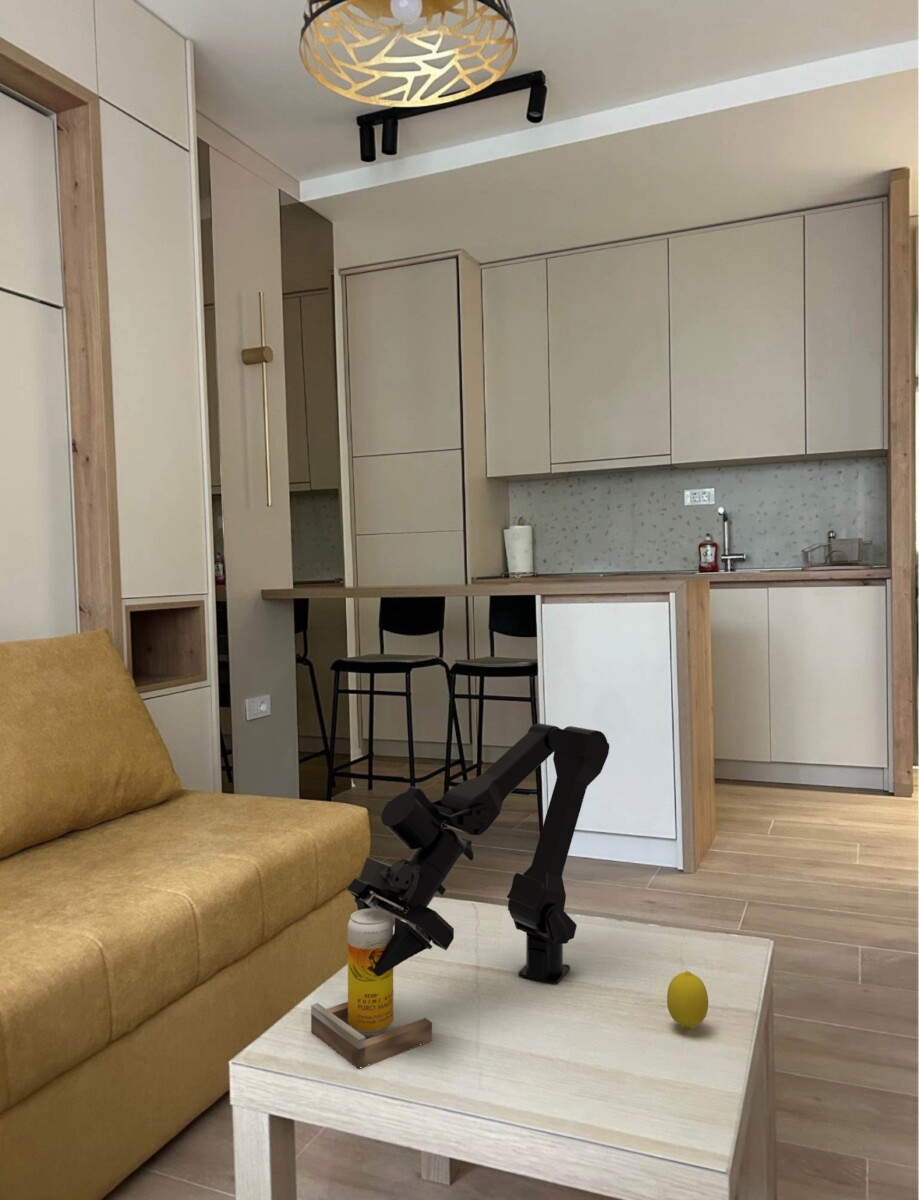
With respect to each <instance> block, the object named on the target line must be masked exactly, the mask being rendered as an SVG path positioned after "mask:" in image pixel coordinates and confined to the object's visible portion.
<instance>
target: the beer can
mask: <svg viewBox="0 0 919 1200" xmlns="http://www.w3.org/2000/svg"><path fill="white" fill-rule="evenodd" d="M393 935H394V921H393V920H392V917H391V914H390V913H389V912H388V911H386V910H382V909H375V908H369V909H362V910H358V909H357V910H356V911H354V912H352V913H351V914H350V918H349V920H348V922H347V954H348V957H347V1002H348V1023H349V1026H350V1027H352V1028H353V1029H354V1030H356V1031H357V1032H359V1033H360V1034H361V1035H363V1036H376V1035H380V1034H383V1033H385V1032H387V1030H388V1029H389V1028H390V1026H391V1024H392V1023H393V1022H394V967H393V968H392V969H390V970H389V971H387V972H386V973H384V974H382V975H381V976H377V975H375V974H374V973H373V970H374V968H375V966H376V964H377V962H378V960H379V959H380V957H381V955H382V953H383V952H384V950H385V948H386V947H387V945H388V943H389V942H390V940H391V938H392V936H393Z"/></svg>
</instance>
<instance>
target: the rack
mask: <svg viewBox="0 0 919 1200" xmlns="http://www.w3.org/2000/svg"><path fill="white" fill-rule="evenodd" d="M310 1006H311V1007H310V1008H311V1009H310V1022H311V1023H310V1032H311V1033H312V1034H313V1035H314V1036H316V1037H317V1039H320V1040H321V1041H322V1042H323V1043H325V1044H326V1045H327V1046H329V1047H330V1048H331V1049H332V1050H333V1051H335V1052H336V1053H337V1054H339V1055H340V1056H341V1057H343V1058H344V1059H345V1060H346V1059H347V1062H349V1061H350V1062H351V1063H353V1064H354V1065H355V1066H356V1068H357V1067H358V1068H360V1067H363V1068H365V1067H367V1066H366V1065H368V1064H371V1065H373V1064H375V1062H376V1063H379V1062H380V1060H381V1061H383V1060H386V1059H389V1058H391V1057H393V1056H396V1055H398V1053H399V1054H401V1053H405V1052H406V1050H407V1051H410V1050H411V1049H410V1048H412V1049H414V1048H416V1047H415V1046H417V1047H419V1046H421V1045H420V1044H422V1045H424V1044H423V1043H425V1044H427V1043H429V1041H430V1042H431V1041H433V1022H432V1021H431V1020H429V1019H428V1018H426V1017H424V1018H422V1019H421V1018H420V1019H418V1020H416V1021H414V1022H413V1021H412V1022H411V1023H407V1024H405V1025H402V1026H400V1027H397V1028H394V1029H391V1030H389V1031H384V1032H382V1033H380V1034H376V1035H373V1036H372V1037H370V1038H366V1036H365V1035H362V1034H360V1033H359V1032H357V1031H356V1030H354V1029H353V1028H352V1027H351V1026H350V1025H349V1023H348V1001H347V1002H343V1003H340V1004H337V1005H334V1006H331V1007H328V1008H326V1007H324V1006H323V1005H321V1004H320V1003H319V1002H317V1003H314V1004H311V1005H310ZM418 1045H419V1046H418ZM413 1047H414V1048H413ZM388 1057H389V1058H388ZM350 1062H349V1063H350ZM351 1063H350V1064H351ZM372 1063H373V1064H372ZM353 1064H352V1065H353ZM354 1065H353V1066H354ZM355 1066H354V1067H355ZM364 1066H365V1067H364ZM368 1066H369V1065H368ZM358 1068H357V1069H358ZM360 1069H361V1068H360Z"/></svg>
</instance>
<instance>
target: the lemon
mask: <svg viewBox="0 0 919 1200" xmlns="http://www.w3.org/2000/svg"><path fill="white" fill-rule="evenodd" d="M706 988H707V987H706V985H705V982H703V980H701V978H700V977H699V976H698V975H696V974H694V973H691V971H689V970H686V971H684V972H681V973H678V974H677V975H675V976H673V978H672V979H671V981H670V983H669V985H668V987H667V993H666V1006H667V1010H668V1012H669V1014H670V1015H669V1016H670V1017H671V1018H672V1020H673V1021H675V1023H676V1024H678V1025H680V1026H682V1027H683V1029H685V1030H686V1031H689V1030H691V1029H692V1028H693V1027H697V1026H699V1025H700V1024H702V1022H703V1021H704V1020H705V1019H706V1017H707V1014H708V1009H709V995H708V992H707V989H706Z"/></svg>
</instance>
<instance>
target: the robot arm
mask: <svg viewBox="0 0 919 1200" xmlns="http://www.w3.org/2000/svg"><path fill="white" fill-rule="evenodd" d="M609 753H610V743H609V742H608V739H607V737H606V735H605V733H604V732H602V731H599V730H595V729H591V728H590V729H588V728H583V727H578V726H571V725H570V726H566V727H564V728H560V727H558V726H556V725H552V724H546V723H540V722H539V723H536V724H533V725H531V726H530V728H529V729H528V731H527V732H526V734H524V735H523V737H521V738H520V739H519V740H518V741H517V742H516V743H515V744H514V745H513V746H511V748H509V749H508V750H507V751H506V752H505V753H504V754H503V755H502V756H500V757H499V758H498V759H497V760H496V761H495V762H494V763H493V764H492V765H491V766H490V767H489V768H487V769H486V770H485V771H484V772H482V774H480V775H478V776H475V777H473V778H470V779H467V780H464V781H461V782H460V783H459V784H457V785H455V786H453V787H452V788H451V789H449V790H448V791H446V792H445V793H444V794H443V796H442V797H441V798H437V799H435V800H432V801H430V799H428V797H427V795H426V794H425V793H424V791H422V789H421V788H419V787H415V786H410V787H409V788H408V789H407V791H406V792H402V793H400V794H398V795H397V796H395V797H394V798H392V799H391V800H389V801H388V802H387V803H386V805H385V806H384V807H383V810H382V812H381V816H380V818H381V823H382V824H383V826H385V827H386V828H387V829H388V830H389V832H391V833H392V834H393V835H394V836H395V837H396V838H397V839H398V840H399V841H400V842H401V843H402V844H403V845H404V846H405V847H406V848H407V849H409V850H415V851H414V852H413V853H412V855H411V856H410V858H409V859H405V858H401V859H399V860H396V861H394V863H392V864H390V863H388V862H384V861H381V860H378V859H375V858H372V857H368V856H366V857H365V861H364V864H363V866H362V869H361V872H360V874H359V877H356V878H354V879H353V880H352V881H351V882H350V884H349V886H347V889H346V891H347V892H348V893H349V894H350V895H351V896H353V898H354V901H353V902H354V903H355V904H356V907H357V911H358V910H362V909H369V908H375V909H382V910H386V911H388V912H389V913H390V915H393V916H394V926H393V936H392V938H391V940H390V942H389V943H388V945H387V947H386V948H385V950H384V952H383V953H382V955H381V957H380V959H379V960H378V962H377V964H376V966H375V968H374V970H373V973H374V974H375V975H377V976H381V975H382V974H384V973H386V972H387V971H389V970H390V969H392V968H393V969H394V968H395V967H397V966H398V965H400V964H402V963H403V962H405V961H407V960H408V959H410V958H411V957H413V956H416V955H418V954H419V953H421V952H423V951H425V950H427V949H428V950H432V948H433V945H435V946H437V947H439V948H440V949H442V950H444V951H447V950H448V949H449V947H450V946H451V944H452V943H453V941H454V939H455V933H454V932H455V929H454V927H452V925H450V923H449V922H448V921H446V920H445V919H444V918H443V917H442V916H441V915H440V914H439V913H438V912H437V911H436V910H434V909H432V908H429V905H430V904H431V902H432V900H433V899H434V897H435V896H436V894H437V895H440V896H444V893H445V892H446V890H447V889H446V888H445V887H444V886H443V884H444V883H445V880H446V879H447V877H448V876H449V874H450V873H451V871H452V870H453V868H454V866H455V865H456V863H457V862H458V861H459V859H460V858H462V859H466V860H467V861H468V860H469V861H473V860H474V851H473V848H472V843H473V842H472V840H470V839H467V838H466V837H465V838H464V837H460V836H459V835H458V834H457V833H456V832H455V831H454V830H456V831H459V832H462V833H465V834H468V835H471V836H481V835H483V834H484V833H485V832H487V831H488V830H489V828H490V827H491V826H492V825H493V824H494V822H495V821H496V819H497V818H498V817H499V815H500V814H501V811H502V808H503V807H502V806H503V803H504V801H505V800H506V798H507V797H508V796H509V795H510V794H511V793H512V792H513V791H514V790H515V789H516V788H517V787H518V786H519V785H520V784H521V783H523V782H524V781H525V780H526V779H527V778H528V777H529V776H530V775H532V773H533V772H534V771H535V770H536V769H537V768H538V767H539V766H541V765H542V764H543V763H544V762H545V761H546V760H547V759H548V758H549V757H550V756H551V755H553V756H552V760H553V765H554V768H555V769H554V770H555V774H556V778H555V779H556V780H555V782H554V787H553V790H552V794H551V797H550V801H549V805H548V808H547V811H546V815H545V818H544V822H543V825H542V828H541V832H540V835H539V839H538V842H537V845H536V848H535V852H534V855H533V859H532V862H531V865H530V866H529V867H528V869H526V870H525V871H524V872H523V873H522V874H521V873H519V872H515V874H514V876H513V877H512V884H511V887H510V891H509V892H508V894H507V895H506V898H507V899H508V903H507V910H508V911H509V914H510V917H511V918H512V920H513V922H514V927H515V929H516V930H518V931H522V932H524V933H525V934H526V937H525V938H526V942H525V943H526V944H525V946H526V949H525V950H526V951H525V955H526V957H525V960H526V961H525V965H524V966H523V967H522V968H521V969H520V970H519V971H518V974H517V975H518V976H519V977H522V978H526V979H531V980H535V981H541V982H546V983H550V984H555V985H556V984H558V983H559V982H560V981H561V980H562V979H563V978H564V976H565V975H567V973H568V972H569V971H570V969H571V965H569V964H566V963H564V962H563V961H564V960H563V959H564V957H563V956H564V955H563V954H564V948H563V947H564V945H566V944H569V941H571V940H573V939H574V938H575V934H576V931H577V927H578V925H577V923H576V922H575V921H574V920H573V919H572V918H571V917H570V916H569V914H567V912H566V911H565V907H566V906H565V905H566V900H567V899H566V897H567V895H566V890H565V884H564V881H563V874H564V873H563V872H564V869H565V866H566V863H567V858H568V855H569V851H570V848H571V844H572V840H573V837H574V834H575V830H576V827H577V824H578V823H577V822H578V819H579V816H580V812H581V809H582V805H583V803H584V799H585V795H586V792H587V788H588V786H590V784H591V783H592V782H594V780H596V778H597V777H598V776H599V775H600V774H601V773H602V770H603V769H604V766H605V763H606V760H607V759H608V756H609ZM443 824H444V826H446V827H448V828H444V827H443V826H442V825H443ZM453 829H454V830H453ZM431 942H432V944H433V945H432V944H431ZM346 956H347V958H348V953H347V955H346Z"/></svg>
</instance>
